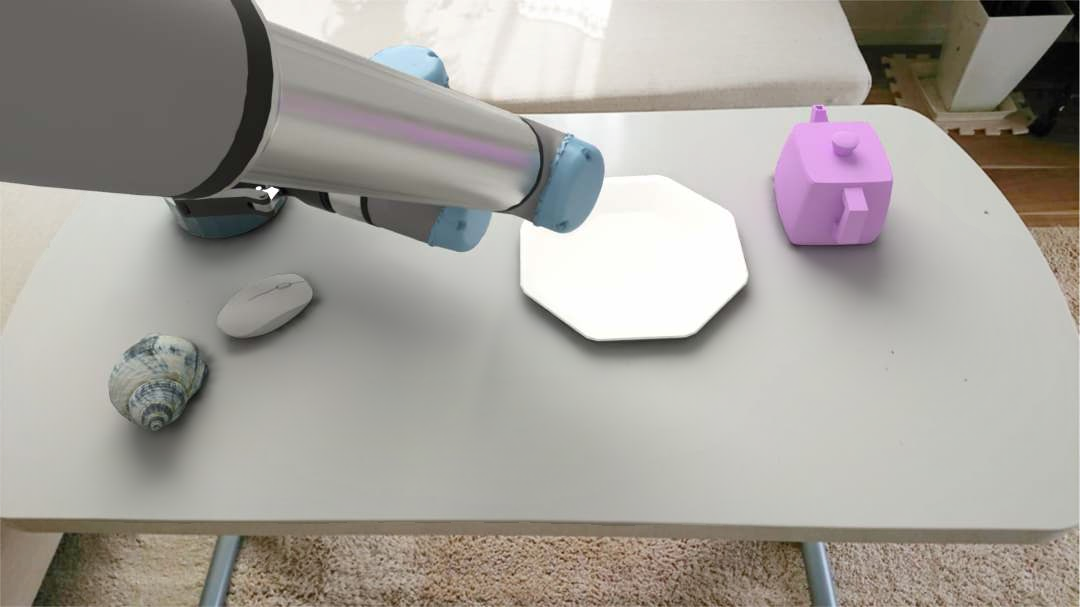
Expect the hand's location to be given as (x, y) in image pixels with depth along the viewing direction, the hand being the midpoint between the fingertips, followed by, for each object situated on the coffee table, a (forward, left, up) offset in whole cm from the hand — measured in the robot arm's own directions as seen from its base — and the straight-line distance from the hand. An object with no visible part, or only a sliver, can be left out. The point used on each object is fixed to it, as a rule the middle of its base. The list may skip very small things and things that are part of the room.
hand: (188, 130), depth 83 cm
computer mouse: (-2, -20, -11) cm, 23 cm away
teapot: (+55, -44, -11) cm, 71 cm away
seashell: (-14, -24, -11) cm, 30 cm away
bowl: (+1, -1, -10) cm, 10 cm away
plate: (+33, -37, -11) cm, 51 cm away
